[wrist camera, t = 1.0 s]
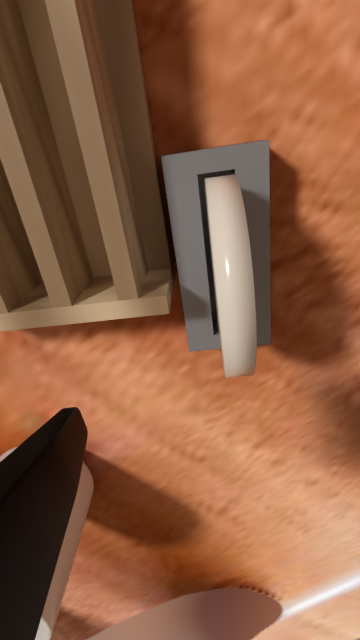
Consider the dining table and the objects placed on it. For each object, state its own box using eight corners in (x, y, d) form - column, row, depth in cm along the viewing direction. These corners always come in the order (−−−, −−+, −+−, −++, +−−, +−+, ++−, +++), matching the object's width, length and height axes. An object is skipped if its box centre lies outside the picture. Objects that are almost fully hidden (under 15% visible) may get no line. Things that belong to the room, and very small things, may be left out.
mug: (102, 444, 29) (54, 603, 19) (93, 506, 33) (50, 661, 23) (-40, 419, 28) (-168, 570, 18) (-31, 485, 32) (-131, 637, 22)
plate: (225, 167, 17) (251, 187, 9) (235, 318, 22) (259, 420, 14) (202, 170, 17) (209, 193, 10) (216, 320, 22) (229, 422, 14)
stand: (259, 140, 17) (269, 140, 15) (263, 324, 22) (271, 344, 20) (165, 154, 18) (160, 156, 16) (189, 331, 23) (189, 351, 21)
